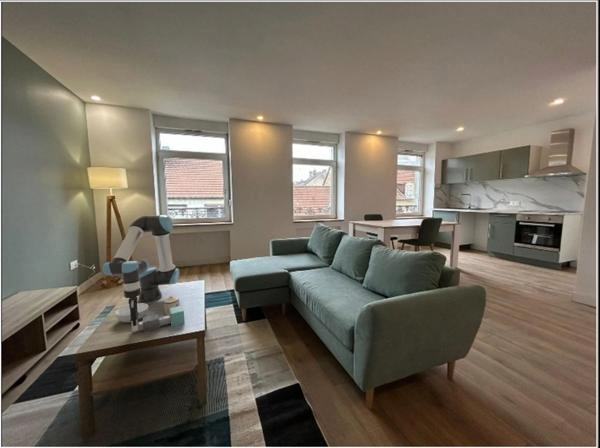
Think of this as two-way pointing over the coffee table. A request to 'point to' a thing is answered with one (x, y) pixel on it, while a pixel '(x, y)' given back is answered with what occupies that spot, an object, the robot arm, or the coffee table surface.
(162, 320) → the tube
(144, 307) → the cereal bowl
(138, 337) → the coffee table surface
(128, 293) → the robot arm
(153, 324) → the sleeve
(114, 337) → the coffee table surface
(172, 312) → the socket
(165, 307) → the teacup with lid
